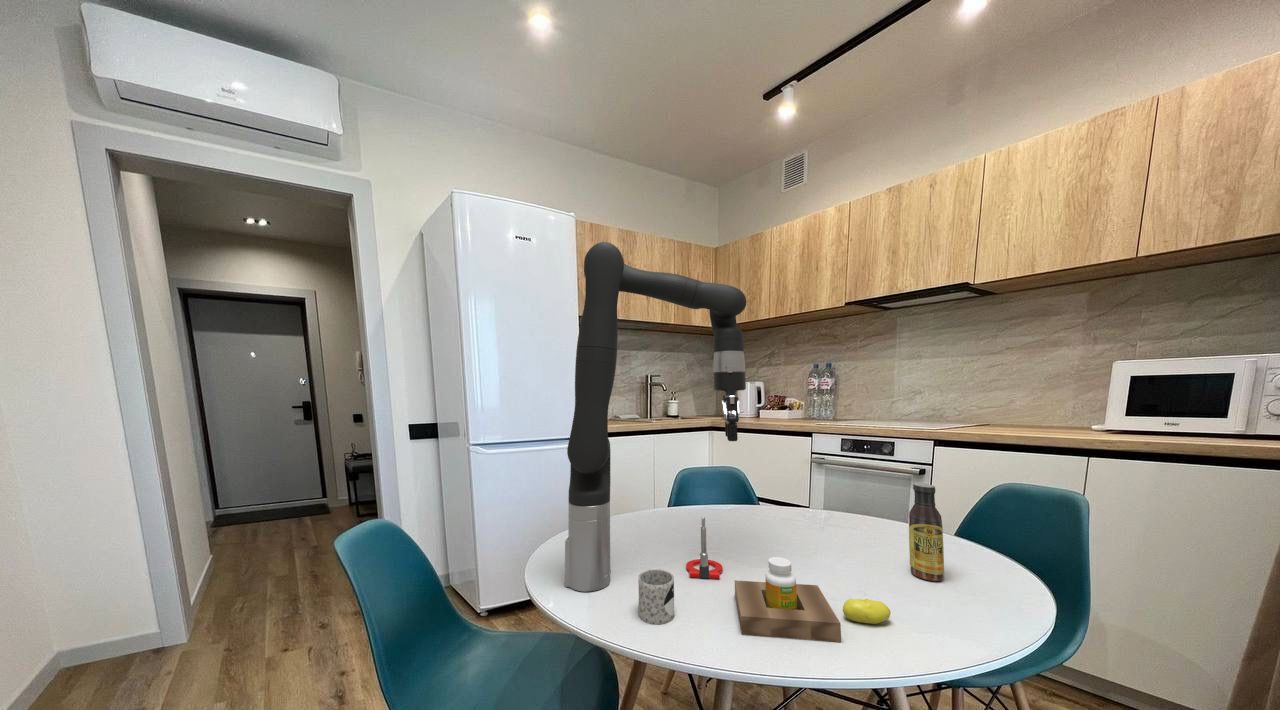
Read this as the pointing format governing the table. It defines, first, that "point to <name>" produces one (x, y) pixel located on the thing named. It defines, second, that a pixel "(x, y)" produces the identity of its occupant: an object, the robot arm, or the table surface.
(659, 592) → the mug
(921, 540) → the sauce bottle
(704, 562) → the tow hook
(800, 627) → the socket plate
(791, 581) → the supplement bottle
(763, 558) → the table surface
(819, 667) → the table surface
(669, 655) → the table surface
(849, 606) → the yellow potato
